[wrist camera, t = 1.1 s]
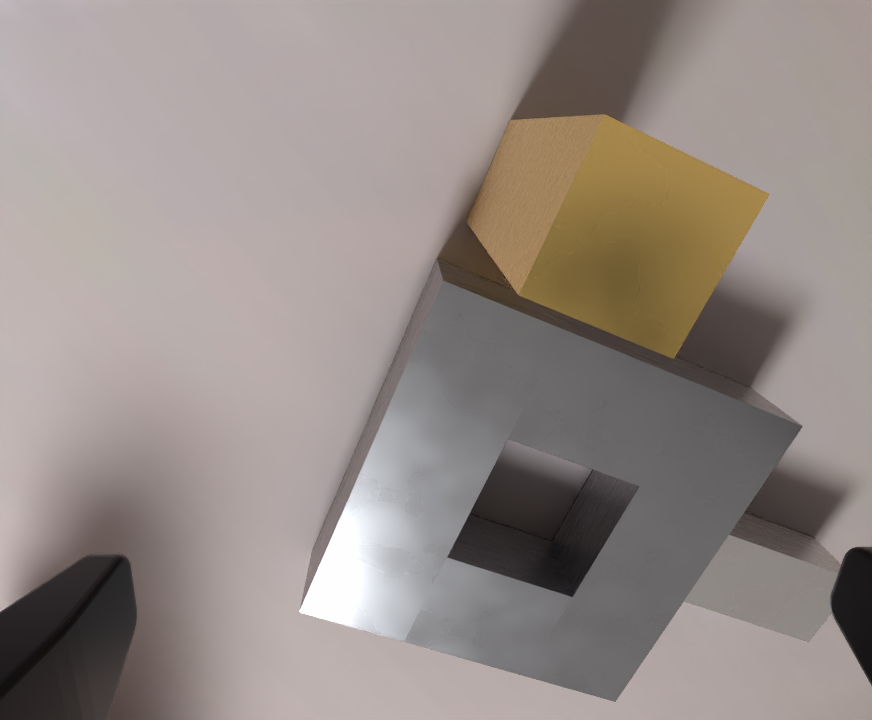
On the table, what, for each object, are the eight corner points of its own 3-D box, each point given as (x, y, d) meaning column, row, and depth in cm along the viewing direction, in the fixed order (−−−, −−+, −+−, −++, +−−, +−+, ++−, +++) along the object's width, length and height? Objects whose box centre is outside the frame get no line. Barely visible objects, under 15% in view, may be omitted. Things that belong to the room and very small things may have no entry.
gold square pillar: (604, 163, 19) (769, 194, 10) (557, 260, 20) (673, 358, 11) (510, 120, 18) (604, 114, 10) (466, 221, 19) (518, 295, 11)
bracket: (884, 442, 23) (952, 487, 20) (713, 675, 27) (751, 740, 24) (436, 258, 20) (443, 280, 17) (311, 553, 23) (299, 612, 20)
